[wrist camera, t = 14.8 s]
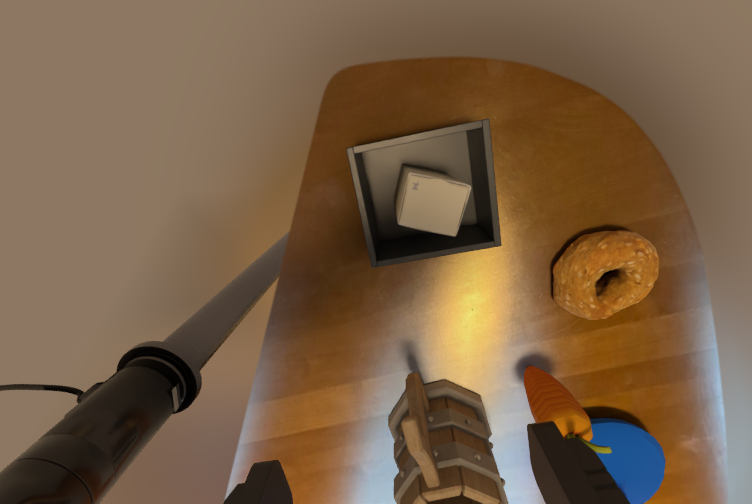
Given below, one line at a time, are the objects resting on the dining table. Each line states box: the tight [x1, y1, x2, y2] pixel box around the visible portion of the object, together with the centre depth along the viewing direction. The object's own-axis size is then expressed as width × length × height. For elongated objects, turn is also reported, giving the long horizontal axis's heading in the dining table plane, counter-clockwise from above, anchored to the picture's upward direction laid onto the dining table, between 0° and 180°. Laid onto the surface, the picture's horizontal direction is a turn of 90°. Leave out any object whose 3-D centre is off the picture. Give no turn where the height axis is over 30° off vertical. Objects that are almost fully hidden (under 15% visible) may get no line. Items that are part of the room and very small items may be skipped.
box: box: [394, 163, 471, 236], centre depth 33 cm, size 5×4×11 cm
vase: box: [589, 418, 665, 504], centre depth 45 cm, size 16×16×7 cm
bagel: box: [553, 230, 659, 320], centre depth 38 cm, size 10×11×5 cm
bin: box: [346, 119, 501, 268], centre depth 35 cm, size 12×11×8 cm
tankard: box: [388, 372, 508, 504], centre depth 40 cm, size 20×13×15 cm, turn 19°
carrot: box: [524, 365, 612, 454], centre depth 38 cm, size 5×5×15 cm
